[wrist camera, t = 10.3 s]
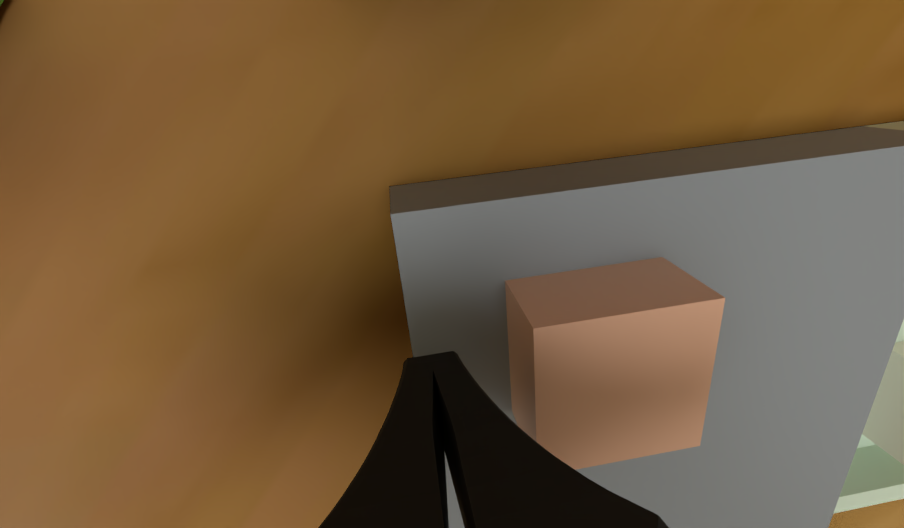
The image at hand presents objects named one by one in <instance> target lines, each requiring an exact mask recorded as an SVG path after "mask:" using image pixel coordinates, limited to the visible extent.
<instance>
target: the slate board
mask: <svg viewBox="0 0 904 528" xmlns="http://www.w3.org/2000/svg"><path fill="white" fill-rule="evenodd" d="M389 187H390V213H391V220H392V226H393V233H394V239H395V245H396V252H397V258H398V264H399V271H400V277H401V283H402V290H403V296H404V302H405V308H406V315H407V321H408V327H409V334H410V340H411V346H412V353H413V357H419V356H425V355H431V354H437V353H443V352H449V351H454V352H456V353H457V354H458V356H459V358H460V359H461V361H462V363H463V364H464V366H465V367H466V369H467V370H468V371H469V373H470V374H471V375H472V377H473V378H474V379H475V381H476V382H477V383H478V384H479V386H480V387H481V388H482V389H483V390H484V392H485V393H486V394H487V395H488V396H489V397H490V398H491V400H492V401H493V402H494V403H495V404H496V405H497V406H498V407H499V408H500V409H501V410H502V411H503V412H504V413H505V414H506V415H507V416H508V417H509V418H510V419H511V420H512V421H513V422H514V423H515V424H516V425H517V422H516V420H515V417H514V414H513V412H512V401H511V383H510V364H509V345H508V327H507V308H506V290H505V280H512V279H519V278H525V277H532V276H539V275H545V274H552V273H559V272H565V271H572V270H579V269H585V268H592V267H599V266H605V265H612V264H619V263H625V262H632V261H639V260H645V259H652V258H659V257H663V258H665V259H666V260H668V261H670V262H671V263H673V264H674V265H676V266H677V267H679V268H680V269H682V270H683V271H685V272H686V273H688V274H690V275H691V276H693V277H694V278H696V279H697V280H699V281H700V282H702V283H703V284H705V285H706V286H708V287H710V288H711V289H713V290H714V291H716V292H717V293H719V294H720V295H722V296H723V297H725V303H724V309H723V315H722V321H721V327H720V332H719V338H718V344H717V350H716V356H715V362H714V367H713V373H712V379H711V385H710V391H709V397H708V402H707V408H706V414H705V420H704V426H703V432H702V437H701V443H700V446H697V447H691V448H686V449H681V450H676V451H670V452H665V453H660V454H655V455H650V456H644V457H639V458H634V459H629V460H623V461H618V462H613V463H608V464H603V465H597V466H592V467H587V468H582V469H576V471H578V472H579V473H581V474H582V475H584V476H585V477H587V478H588V479H590V480H592V481H593V482H595V483H597V484H599V485H600V486H602V487H604V488H605V489H607V490H609V491H611V492H613V493H615V494H617V495H619V496H621V497H623V498H625V499H627V500H629V501H631V502H633V503H635V504H637V505H639V506H641V507H643V508H645V509H647V510H649V511H651V512H653V513H655V514H657V515H659V516H660V517H661V519H662V520H663V521H664V522H665V524H666V525H667V526H668V527H669V528H828V526H829V524H830V521H831V518H832V515H833V513H834V510H835V507H836V504H837V502H838V499H839V496H840V493H841V491H842V488H843V485H844V482H845V480H846V477H847V474H848V471H849V468H850V466H851V463H852V460H853V457H854V455H855V452H856V449H857V446H858V444H859V441H860V438H861V435H862V433H863V430H864V427H865V424H866V422H867V419H868V416H869V413H870V411H871V408H872V405H873V402H874V400H875V397H876V394H877V391H878V388H879V386H880V383H881V380H882V377H883V375H884V372H885V369H886V366H887V364H888V361H889V358H890V355H891V353H892V350H893V347H894V344H895V342H896V339H897V336H898V333H899V331H900V328H901V325H902V322H903V319H904V130H895V129H885V128H876V127H866V126H860V127H852V128H844V129H836V130H828V131H821V132H813V133H805V134H797V135H789V136H781V137H774V138H766V139H758V140H750V141H742V142H734V143H726V144H719V145H711V146H703V147H695V148H687V149H679V150H672V151H664V152H656V153H648V154H640V155H632V156H625V157H617V158H609V159H601V160H593V161H585V162H578V163H570V164H562V165H554V166H546V167H538V168H530V169H523V170H515V171H507V172H499V173H491V174H483V175H476V176H468V177H460V178H452V179H444V180H436V181H429V182H421V183H413V184H405V185H397V186H389ZM517 426H518V425H517ZM445 468H446V485H447V503H448V521H449V528H465V527H464V524H463V520H462V516H461V512H460V508H459V504H458V501H457V497H456V493H455V489H454V485H453V481H452V478H451V474H450V470H449V466H448V462H447V458H446V455H445Z"/></svg>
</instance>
